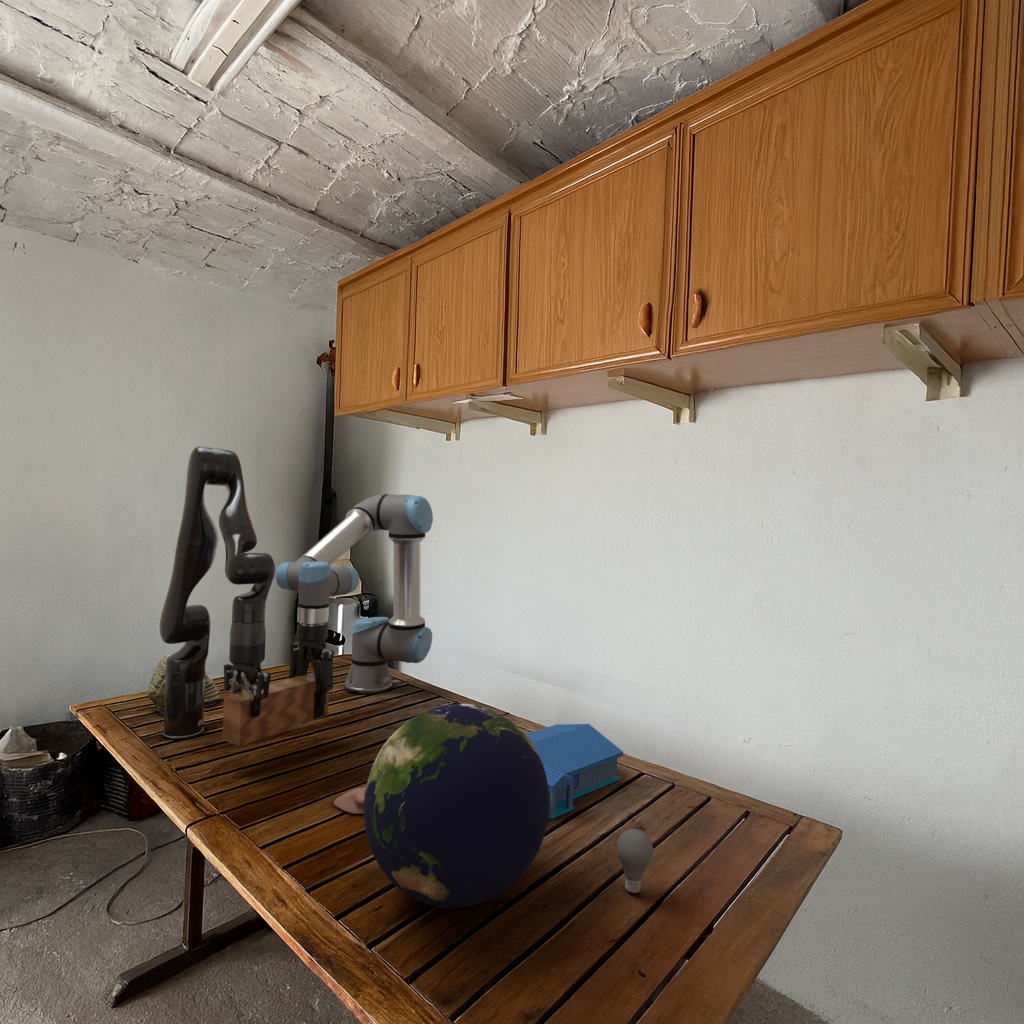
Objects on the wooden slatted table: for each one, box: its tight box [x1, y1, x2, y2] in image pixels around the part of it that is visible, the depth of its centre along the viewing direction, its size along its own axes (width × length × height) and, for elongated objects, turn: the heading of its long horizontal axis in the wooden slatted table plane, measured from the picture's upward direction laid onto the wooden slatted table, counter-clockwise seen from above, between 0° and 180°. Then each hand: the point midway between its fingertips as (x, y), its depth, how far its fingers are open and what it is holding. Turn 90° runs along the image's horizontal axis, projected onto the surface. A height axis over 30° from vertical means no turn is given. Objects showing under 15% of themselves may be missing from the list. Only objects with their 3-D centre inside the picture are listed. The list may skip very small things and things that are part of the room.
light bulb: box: [615, 828, 654, 894], centre depth 106 cm, size 6×6×10 cm
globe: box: [363, 703, 549, 909], centre depth 103 cm, size 30×30×30 cm
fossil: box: [147, 654, 221, 711], centre depth 185 cm, size 9×18×15 cm, turn 132°
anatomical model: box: [333, 786, 366, 815], centre depth 132 cm, size 13×4×12 cm
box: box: [222, 671, 330, 747], centre depth 152 cm, size 26×6×10 cm, turn 149°
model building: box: [524, 723, 624, 820], centre depth 142 cm, size 39×24×10 cm, turn 132°
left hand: (245, 713), depth 144 cm, fingers closed on box, 6 cm apart
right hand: (309, 713), depth 160 cm, fingers closed on box, 6 cm apart
